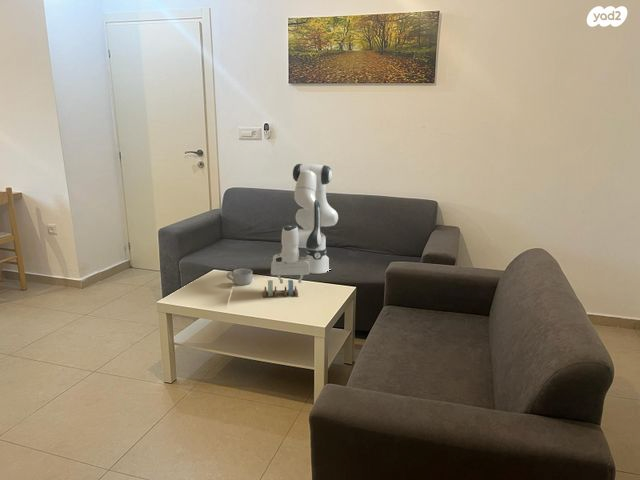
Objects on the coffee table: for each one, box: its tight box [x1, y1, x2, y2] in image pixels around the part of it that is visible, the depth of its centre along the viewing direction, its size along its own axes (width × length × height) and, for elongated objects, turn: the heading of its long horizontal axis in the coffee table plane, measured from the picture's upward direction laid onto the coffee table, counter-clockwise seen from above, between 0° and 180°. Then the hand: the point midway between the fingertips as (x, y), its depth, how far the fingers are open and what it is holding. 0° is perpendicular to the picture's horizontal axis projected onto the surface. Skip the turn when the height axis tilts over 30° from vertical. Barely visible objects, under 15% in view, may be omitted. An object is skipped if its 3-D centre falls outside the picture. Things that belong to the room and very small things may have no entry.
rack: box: [262, 285, 300, 299], centre depth 241 cm, size 12×18×4 cm, turn 96°
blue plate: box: [287, 279, 294, 295], centre depth 241 cm, size 6×2×6 cm, turn 6°
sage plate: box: [267, 280, 274, 296], centre depth 240 cm, size 6×2×6 cm, turn 6°
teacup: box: [226, 268, 253, 286], centre depth 259 cm, size 14×11×8 cm
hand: (290, 282), depth 241 cm, fingers open, 8 cm apart
